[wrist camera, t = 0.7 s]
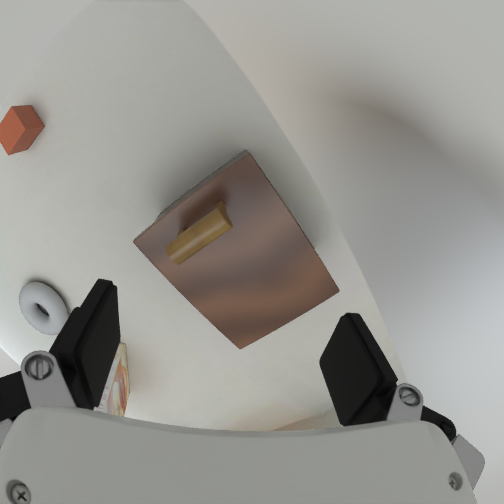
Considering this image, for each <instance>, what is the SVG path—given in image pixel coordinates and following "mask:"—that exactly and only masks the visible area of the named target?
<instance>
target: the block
mask: <svg viewBox="0 0 504 504" xmlns="http://www.w3.org/2000/svg"><path fill="white" fill-rule="evenodd" d="M44 127H45V126H44V124H43V123H42V121H41V120H40V118H39V117H38V115H37V114H36V112H35V111H34V109H33V108H32V106H31V105H25V106H12V107H11V108H10V109H9V111H8V112H7V114H6V115H5V117H4V119H3V120H2V122H1V123H0V142H1V144H2V146H3V147H4V149H5V151H6V152H7V154H8V155H11V154H14V153H18V152H21V151H25V150H28V148H29V147H30V145H31V144H32V143H33V141H34V140H35V138H36V137H37V136H38V134H39V133H40V132H41V130H42V129H43V128H44Z"/></svg>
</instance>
